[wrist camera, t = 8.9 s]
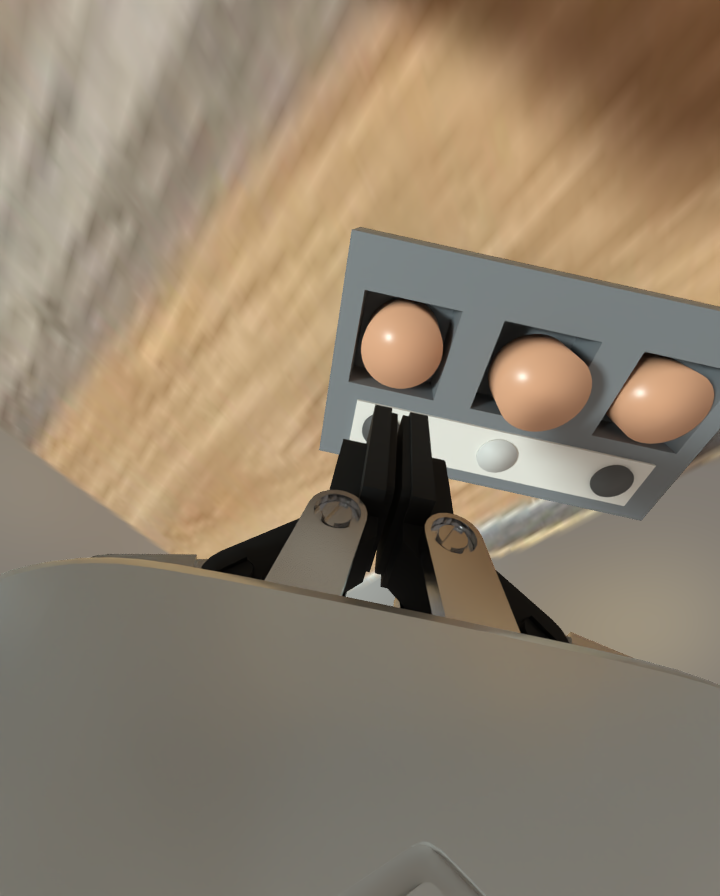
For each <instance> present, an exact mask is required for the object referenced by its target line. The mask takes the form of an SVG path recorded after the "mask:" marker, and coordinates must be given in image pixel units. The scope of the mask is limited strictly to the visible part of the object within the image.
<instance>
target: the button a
mask: <svg viewBox="0 0 720 896" xmlns="http://www.w3.org/2000/svg"><path fill="white" fill-rule="evenodd" d="M361 354H362V360H363V363H364V365H365V367H366V369H367V371H368V372H369V374H370V375H371V376H372V377H373V378H374V379H375V380H377V381H378V382H379V383H381V384H383V385H385V386H388V387H391V388H397V389H405V388H411V387H414V386H417V385H419V384H421V383H423V382H425V381H426V380H427V379H429V378H430V377H431V376H432V375H433V374H434V372H435V371H436V369H437V368H438V366H439V364H440V361H441V358H442V354H443V342H442V337H441V333H440V329H439V325H438V322H437V319H436V317H435V315H434V313H433V312H432V311H431V309H430V308H429V307H427V306H426V305H425V304H424V303H422V302H418V301H413V300H409V299H404V298H396V299H392V300H390V301H388V302H386V303H384V304H382V305H381V306H380V307H379V308H378V309H377V310H376V311H375V312H374V313H373V315H372V317H371V318H370V320H369V323H368V326H367V328H366V331H365V333H364V336H363V340H362V345H361Z"/></svg>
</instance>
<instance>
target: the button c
mask: <svg viewBox="0 0 720 896" xmlns="http://www.w3.org/2000/svg"><path fill="white" fill-rule="evenodd" d="M713 400H714V389H713V386H712V384H711V383H710V381H709V380H708V379H707V378H706V377H704V376H703V375H701V374H700V373H698V372H696V371H694V370H692V369H691V368H689V367H687V366H685V365H683V364H682V363H680V362H678V361H676V360H674V359H673V358H671V357H667V356H662V355H658V354H653V353H643V355H642V357H641V358H640V360H639V361H638V363H637V365H636V366H635V368H634V369H633V371H632V372H631V374H630V376H629V377H628V379H627V380H626V382H625V383H624V385H623V387H622V388H621V390H620V391H619V393H618V395H617V396H616V398H615V399H614V401H613V402H612V404H611V406H610V407H609V409H608V410H607V412H606V413H605V414H606V415H607V416H608V417H609V418H610V419H611V420H612V421H613V422H614V423H615V424H616V425H617V426H618V427H619V428H620V429H621V430H622V431H623V432H624V433H625V434H626V435H627V436H628V437H629V438H631V439H632V440H634V441H637V442H640V443H648V444H654V443H663V442H667V441H670V440H673V439H676V438H678V437H681V436H682V435H684V434H686V433H688V432H689V431H691V430H692V429H694V428H695V427H696V426H697V425H698V424H699V423H701V421H702V420H703V419H704V418H705V417H706V415H707V414H708V413H709V411H710V409H711V407H712V404H713Z"/></svg>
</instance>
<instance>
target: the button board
mask: <svg viewBox="0 0 720 896" xmlns="http://www.w3.org/2000/svg"><path fill="white" fill-rule="evenodd" d="M396 298H404V299H409V300H413V301H418V302H422V303H424V304H425V305H426V306H427V307H429V308H430V309H431V311H432V312H433V313H434V315H435V317H436V319H437V322H438V325H439V329H440V333H441V337H442V342H443V354H442V358H441V361H440V364H439V366H438V368H437V369H436V371H435V372H434V374H433V375H432V376H431V377H430V378H429V379H427V380H426V381H425V382H423V383H421V384H419V385H417V386H414V387H411V388H405V389H397V388H391V387H388V386H385V385H383V384H381V383H379V382H378V381H377V380H375V379H374V378H373V377H372V376H371V375H370V374H369V372H368V371H367V369H366V367H365V365H364V363H363V360H362V354H361V345H362V340H363V336H364V333H365V331H366V328H367V326H368V323H369V320H370V318H371V317H372V315H373V313H374V312H375V311H376V310H377V309H378V308H379V307H380V306H381V305H382V304H384V303H386V302H388V301H390V300H392V299H396ZM529 334H545V335H549V336H552V337H554V338H556V339H558V340H559V341H560V342H562V343H563V344H564V345H565V346H566V347H567V348H569V349H570V350H571V351H572V352H573V353H574V354H576V355H577V356H578V357H579V358H580V359H581V360H582V361H583V362H585V364H586V365H587V367H588V368H589V370H590V373H591V376H592V389H591V393H590V396H589V399H588V401H587V403H586V404H585V406H584V407H583V409H582V410H581V411H580V412H579V413H578V414H577V415H576V416H575V417H574V418H572V419H571V420H570V421H568V422H567V423H565V424H563V425H561V426H559V427H557V428H554V429H550V430H546V431H539V432H531V431H524V430H521V429H518V428H516V427H514V426H512V425H511V424H509V423H508V422H507V421H506V420H505V419H504V418H503V416H502V415H501V413H500V410H499V408H498V406H497V404H496V402H495V399H494V397H493V395H492V393H491V390H490V388H489V385H488V371H489V367H490V364H491V362H492V360H493V358H494V357H495V355H496V354H497V353H498V352H499V350H500V349H502V348H503V347H504V346H505V345H506V344H507V343H509V342H511V341H512V340H514V339H516V338H518V337H521V336H524V335H529ZM643 353H653V354H658V355H662V356H667V357H671V358H673V359H674V360H676V361H678V362H680V363H682V364H683V365H685V366H687V367H689V368H691V369H692V370H694V371H696V372H698V373H700V374H701V375H703V376H704V377H706V378H707V379H708V380H709V381H710V383H711V384H712V386H713V389H714V400H713V404H712V407H711V409H710V411H709V413H708V414H707V415H706V417H705V418H704V419H703V420H702V421H701V423H699V424H698V425H697V426H696V427H695V428H694V429H692V430H691V431H689V432H688V433H686V434H684V435H682V436H681V437H678V438H676V439H673V440H670V441H667V442H663V443H654V444H648V443H640V442H637V441H634V440H632V439H631V438H629V437H628V436H627V435H626V434H625V433H624V432H623V431H622V430H621V429H620V428H619V427H618V426H617V425H616V424H615V423H614V422H613V421H612V420H611V419H610V418H609V417H608V416H607V415H606V414H605V413H606V412H607V410H608V409H609V407H610V406H611V404H612V402H613V401H614V399H615V398H616V396H617V395H618V393H619V391H620V390H621V388H622V387H623V385H624V383H625V382H626V380H627V379H628V377H629V376H630V374H631V372H632V371H633V369H634V368H635V366H636V365H637V363H638V361H639V360H640V358H641V357H642V355H643ZM375 404H376V405H380V406H385V407H390V408H392V413H396V414H398V425H397V432H398V429H399V425H400V422H401V419H402V416H403V415H406V416H409V414H410V412H413V413H418V414H422V415H427V416H428V421H429V431H430V442H431V452H432V458H437V459H441V460H444V461H445V462H446V467H447V474H448V478H449V479H453V480H458V481H462V482H467V483H472V484H476V485H481V486H485V487H490V488H494V489H499V490H503V491H508V492H513V493H517V494H522V495H526V496H531V497H535V498H540V499H545V500H549V501H554V502H558V503H563V504H567V505H572V506H576V507H581V508H586V509H590V510H595V511H599V512H604V513H608V514H613V515H617V516H622V517H627V518H632V519H636V520H640V521H641V520H642V519H643V518H644V517H645V516H646V514H647V513H648V512H649V511H650V510H651V509H652V507H653V506H654V505H655V504H656V503H657V502H658V500H659V499H660V498H661V497H662V496H663V495H664V493H665V492H666V491H667V490H668V489H669V488H670V486H671V485H672V484H673V483H674V482H675V480H676V479H677V478H678V477H679V476H680V475H681V473H682V472H683V471H684V470H685V469H686V468H687V466H688V465H689V464H690V463H691V462H692V461H693V459H694V458H695V457H696V456H697V455H698V454H699V452H700V451H701V450H702V449H703V448H704V447H705V445H706V444H707V443H708V442H709V441H710V440H711V438H712V437H713V436H714V435H715V434H716V432H717V431H718V430H719V429H720V307H719V306H714V305H710V304H705V303H701V302H696V301H692V300H687V299H683V298H678V297H674V296H669V295H665V294H660V293H656V292H651V291H647V290H642V289H638V288H633V287H629V286H624V285H620V284H615V283H611V282H606V281H602V280H597V279H592V278H588V277H583V276H579V275H574V274H570V273H565V272H561V271H556V270H552V269H547V268H543V267H538V266H534V265H529V264H525V263H520V262H516V261H511V260H507V259H502V258H498V257H493V256H489V255H484V254H480V253H475V252H471V251H466V250H462V249H457V248H453V247H448V246H444V245H439V244H435V243H430V242H426V241H421V240H417V239H412V238H408V237H403V236H399V235H394V234H390V233H385V232H381V231H376V230H372V229H367V228H362V227H359V228H356V229H352V232H351V239H350V246H349V253H348V259H347V266H346V273H345V280H344V286H343V293H342V300H341V307H340V313H339V320H338V327H337V334H336V341H335V347H334V354H333V361H332V368H331V374H330V381H329V388H328V395H327V401H326V408H325V415H324V422H323V429H322V435H321V442H320V449H319V450H321V451H326V452H330V453H335V454H339V453H340V449H341V446H342V442H343V439H347V440H352V441H357V442H361V443H366V442H367V438H368V433H369V429H370V425H371V420H372V416H373V412H374V408H375Z"/></svg>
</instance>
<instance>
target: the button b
mask: <svg viewBox="0 0 720 896" xmlns="http://www.w3.org/2000/svg"><path fill="white" fill-rule="evenodd" d="M488 385H489V388H490V390H491V393H492V395H493V397H494V399H495V402H496V404H497V406H498V408H499V410H500V413H501V415H502V416H503V418H504V419H505V420H506V421H507V422H508V423H509V424H511V425H512V426H514V427H516V428H518V429H521V430H524V431H531V432H539V431H546V430H550V429H554V428H557V427H559V426H561V425H563V424H565V423H567V422H568V421H570V420H571V419H572V418H574V417H575V416H576V415H577V414H578V413H579V412H580V411H581V410H582V409H583V407H584V406H585V404H586V403H587V401H588V399H589V396H590V393H591V389H592V376H591V373H590V370H589V368H588V367H587V365H586V364H585V362H583V361H582V360H581V359H580V358H579V357H578V356H577V355H576V354H574V353H573V352H572V351H571V350H570V349H569V348H567V347H566V346H565V345H564V344H563V343H562V342H560V341H559V340H558V339H556V338H554V337H552V336H549V335H545V334H529V335H524V336H521V337H518V338H516V339H514V340H512V341H511V342H509V343H507V344H506V345H505V346H504V347H503V348H502V349H500V350H499V352H498V353H497V354H496V355H495V357H494V358H493V360H492V362H491V364H490V367H489V371H488Z"/></svg>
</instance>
